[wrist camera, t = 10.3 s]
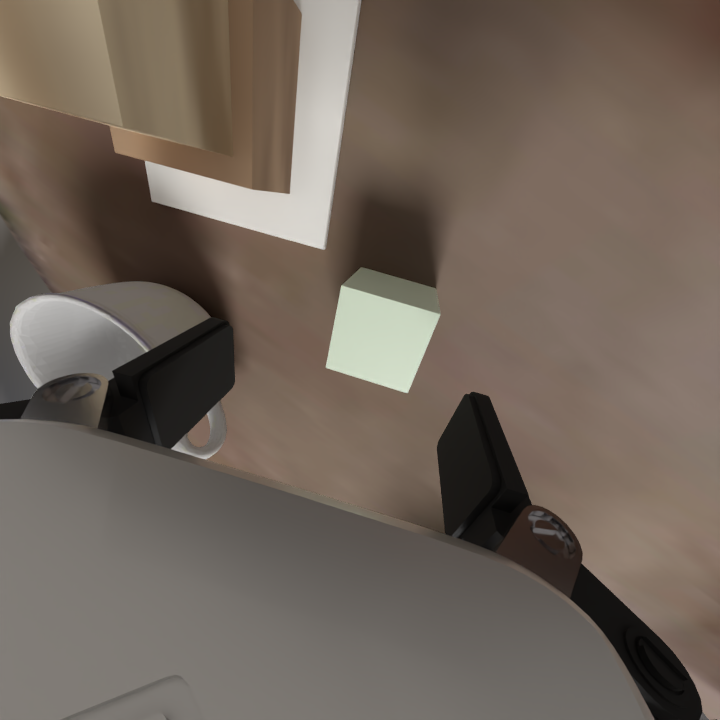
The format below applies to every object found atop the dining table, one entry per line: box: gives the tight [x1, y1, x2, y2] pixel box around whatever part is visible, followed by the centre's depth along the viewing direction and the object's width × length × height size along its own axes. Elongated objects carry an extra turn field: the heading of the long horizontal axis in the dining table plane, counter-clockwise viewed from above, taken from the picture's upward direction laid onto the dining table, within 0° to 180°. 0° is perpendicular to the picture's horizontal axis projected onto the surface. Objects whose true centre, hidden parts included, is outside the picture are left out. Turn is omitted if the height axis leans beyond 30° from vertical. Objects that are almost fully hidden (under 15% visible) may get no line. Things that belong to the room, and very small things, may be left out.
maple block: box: [0, 0, 233, 157], centre depth 8 cm, size 5×5×5 cm
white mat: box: [145, 0, 361, 250], centre depth 14 cm, size 12×12×1 cm
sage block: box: [326, 267, 440, 393], centre depth 16 cm, size 5×5×5 cm
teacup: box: [10, 281, 227, 459], centre depth 20 cm, size 14×11×8 cm
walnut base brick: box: [109, 0, 302, 194], centre depth 12 cm, size 7×7×4 cm
